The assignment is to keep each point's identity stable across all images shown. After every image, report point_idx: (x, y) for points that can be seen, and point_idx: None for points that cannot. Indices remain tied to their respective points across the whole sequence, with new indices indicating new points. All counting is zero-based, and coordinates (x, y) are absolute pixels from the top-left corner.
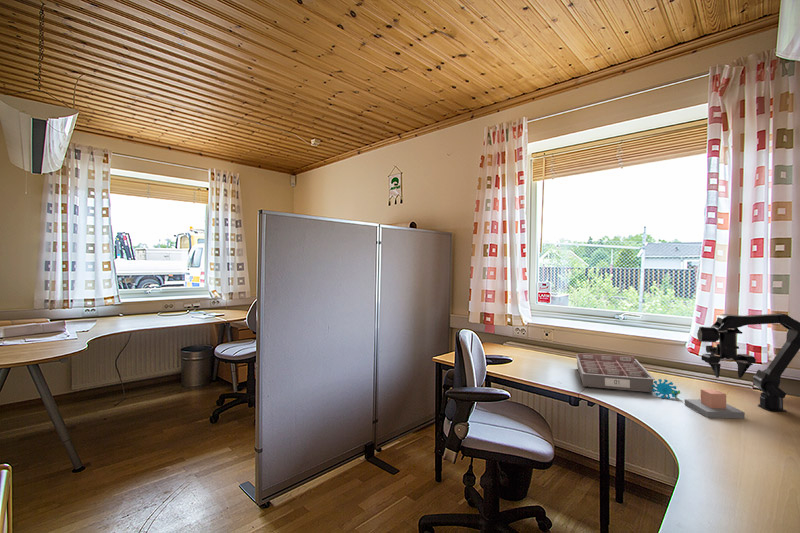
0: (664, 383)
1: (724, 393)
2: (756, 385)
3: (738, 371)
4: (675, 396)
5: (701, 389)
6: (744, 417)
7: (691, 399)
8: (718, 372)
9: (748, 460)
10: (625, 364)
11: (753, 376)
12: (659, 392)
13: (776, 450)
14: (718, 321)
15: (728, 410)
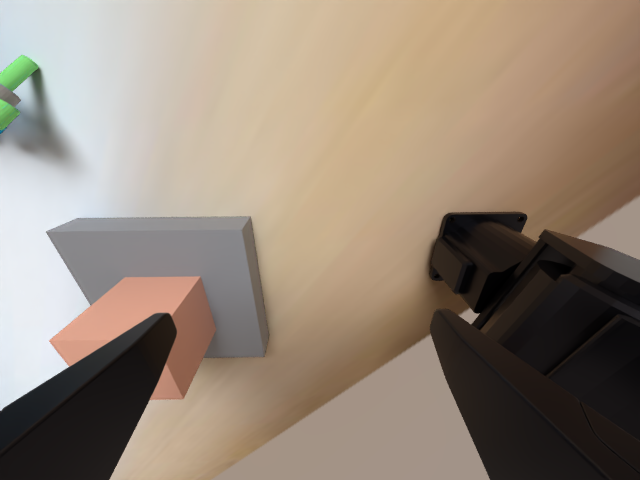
0: None
1: (178, 392)
2: (516, 296)
3: (495, 384)
4: (26, 71)
5: (54, 347)
6: (267, 339)
7: (85, 233)
8: (108, 443)
9: (150, 471)
10: None
11: (621, 329)
12: None
13: (223, 450)
14: None
15: (212, 346)
